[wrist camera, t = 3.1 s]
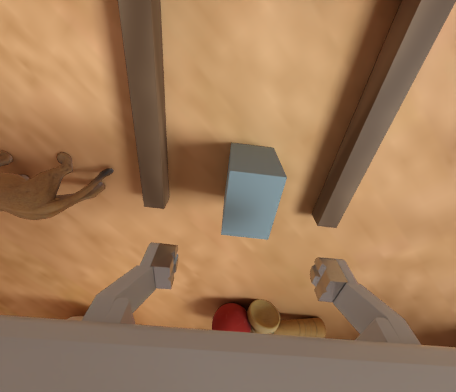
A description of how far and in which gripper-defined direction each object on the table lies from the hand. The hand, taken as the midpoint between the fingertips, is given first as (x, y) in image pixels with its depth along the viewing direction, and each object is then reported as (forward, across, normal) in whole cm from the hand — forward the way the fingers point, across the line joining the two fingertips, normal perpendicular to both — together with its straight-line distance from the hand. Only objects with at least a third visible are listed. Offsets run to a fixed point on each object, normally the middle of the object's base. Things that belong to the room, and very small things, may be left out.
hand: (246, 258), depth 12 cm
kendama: (+11, -8, +24) cm, 28 cm away
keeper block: (+11, -1, 0) cm, 11 cm away
